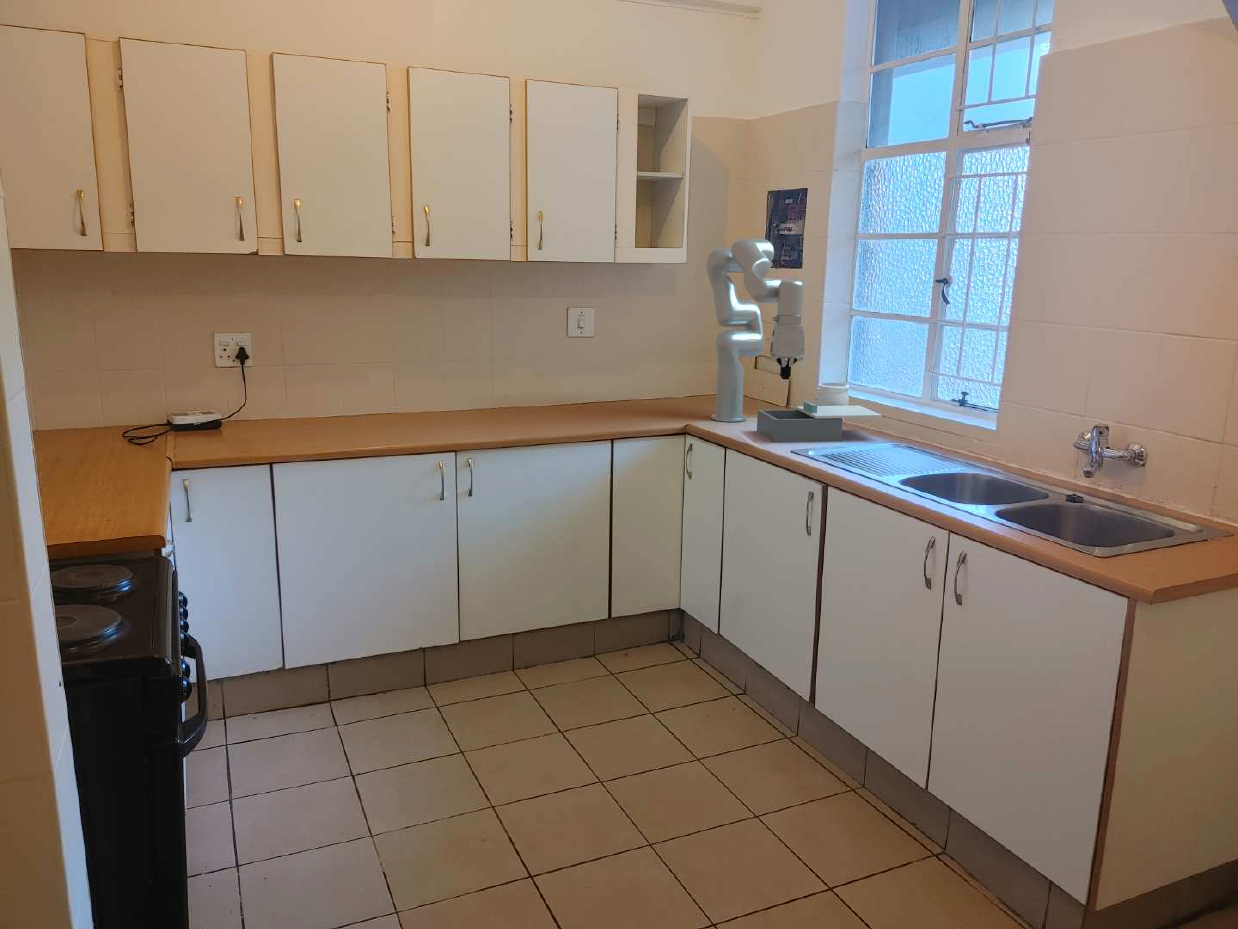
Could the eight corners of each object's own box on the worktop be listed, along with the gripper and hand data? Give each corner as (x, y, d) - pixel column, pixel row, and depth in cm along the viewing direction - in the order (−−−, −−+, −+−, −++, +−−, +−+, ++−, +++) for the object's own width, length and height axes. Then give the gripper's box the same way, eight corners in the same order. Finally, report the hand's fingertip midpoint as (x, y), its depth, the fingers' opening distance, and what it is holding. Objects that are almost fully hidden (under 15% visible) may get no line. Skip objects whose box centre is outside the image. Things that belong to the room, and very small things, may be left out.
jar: (847, 431, 309) (850, 387, 305) (815, 430, 311) (818, 386, 307) (846, 426, 319) (849, 383, 315) (815, 424, 321) (818, 381, 317)
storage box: (756, 433, 303) (757, 410, 301) (820, 432, 306) (821, 409, 304) (773, 445, 285) (775, 420, 283) (841, 444, 289) (842, 419, 287)
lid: (795, 408, 303) (796, 399, 302) (859, 407, 306) (859, 398, 305) (815, 418, 285) (816, 408, 285) (882, 417, 289) (883, 407, 288)
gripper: (769, 321, 282) (766, 380, 286) (815, 321, 284) (811, 380, 289) (762, 319, 289) (758, 377, 294) (807, 319, 292) (803, 377, 296)
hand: (785, 378), depth 291 cm, fingers closed
